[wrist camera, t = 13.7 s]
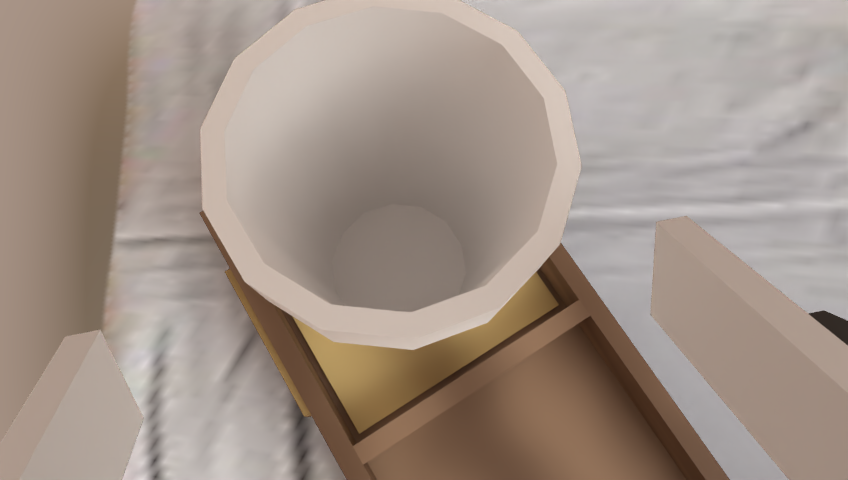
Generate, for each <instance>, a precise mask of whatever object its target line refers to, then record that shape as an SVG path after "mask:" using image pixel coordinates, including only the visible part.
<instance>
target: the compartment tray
mask: <svg viewBox="0 0 848 480" xmlns="http://www.w3.org/2000/svg"><path fill="white" fill-rule="evenodd" d="M200 215H201V217H202V218H203V220H204V222H205V224H206V226H207V228H208V229H209V231H210V233H211V235H212V237H213V238H214V240H215V242H216V244H217V246H218V247H219V249H220V251H221V253H222V255H223V256H224V258H225V260H226V262H227V264H228V265H229V267H230V269H228V270H227V271H225V273H226V275H227V277H228V279H229V280H230V282H231V284H232V286H233V288H234V290H235V291H236V293H237V295H238V297H239V299H240V300H241V302H242V304H243V306H244V308H245V310H246V311H247V313H248V315H249V317H250V319H251V320H252V322H253V324H254V326H255V328H256V330H257V331H258V333H259V335H260V337H261V339H262V340H263V342H264V344H265V346H266V348H267V350H268V351H269V353H270V355H271V357H272V359H273V360H274V362H275V364H276V366H277V368H278V370H279V371H280V373H281V375H282V377H283V379H284V381H285V382H286V384H287V386H288V388H289V390H290V391H291V393H292V395H293V397H294V399H295V401H296V402H297V404H298V406H299V408H300V410H301V411H302V413H303V415H304V417H310V416H312V417H313V419H314V421H315V423H316V425H317V426H318V428H319V430H320V432H321V434H322V435H323V437H324V439H325V441H326V443H327V445H328V446H329V448H330V450H331V452H332V454H333V455H334V457H335V459H336V461H337V463H338V464H339V466H340V468H341V470H342V472H343V473H344V475H345V477H346V479H347V480H730V479H729V478H728V477H727V475H726V474H725V472H724V471H723V469H722V468H721V467H720V465H719V464H718V462H717V461H716V460H715V458H714V457H713V455H712V454H711V453H710V451H709V450H708V448H707V447H706V446H705V444H704V443H703V441H702V440H701V439H700V437H699V436H698V434H697V433H696V432H695V430H694V429H693V427H692V426H691V425H690V423H689V422H688V420H687V419H686V418H685V416H684V415H683V413H682V412H681V411H680V409H679V408H678V406H677V405H676V404H675V402H674V401H673V399H672V398H671V397H670V395H669V394H668V392H667V391H666V390H665V388H664V387H663V385H662V384H661V383H660V381H659V380H658V378H657V377H656V376H655V374H654V373H653V371H652V370H651V368H650V367H649V366H648V364H647V363H646V361H645V360H644V359H643V357H642V356H641V354H640V353H639V352H638V350H637V349H636V347H635V346H634V345H633V343H632V342H631V340H630V339H629V338H628V336H627V335H626V333H625V332H624V331H623V329H622V328H621V326H620V325H619V324H618V322H617V321H616V319H615V318H614V317H613V315H612V314H611V312H610V311H609V310H608V308H607V307H606V305H605V304H604V303H603V301H602V300H601V298H600V297H599V296H598V294H597V293H596V291H595V290H594V289H593V287H592V286H591V284H590V283H589V282H588V280H587V279H586V277H585V276H584V275H583V273H582V272H581V270H580V269H579V268H578V266H577V265H576V263H575V262H574V260H573V259H572V258H571V256H570V255H569V253H568V252H567V251H566V249H565V248H564V246H563V245H562V244H561V243H560V245H559V246H558V247H557V248H556V249H555V251H554V252H553V253H552V254H551V255H550V256H549V258H548V259H547V260H546V261H545V262H544V263H543V264H542V266H541V267H540V268H539V269H538V270H537V271H536V272H535V273H534V274H533V275H532V276H531V277H530V279H529V280H528V281H527V282H526V283H525V284H524V285H523V286H522V287H521V288H520V289H519V290H518V291H517V292H516V293H515V294H514V295H513V297H512V298H511V299H510V300H509V301H508V302H507V303H506V304H505V305H504V306H503V307H502V308H501V309H500V310H499V311H498V312H497V314H496V315H495V316H494V317H493V318H492V319H491V320H490V321H489V322H488V323H486V324H483V325H480V326H477V327H475V328H472V329H469V330H467V331H464V332H461V333H458V334H456V335H453V336H450V337H448V338H445V339H442V340H439V341H437V342H434V343H431V344H429V345H426V346H423V347H420V348H418V349H415V350H408V349H398V348H388V347H378V346H368V345H358V344H348V343H338V342H333V341H331V340H330V339H328V338H326V337H325V336H323V335H322V334H320V333H318V332H317V331H315V330H314V329H312V328H311V327H309V326H307V325H306V324H304V323H303V322H301V321H299V320H298V319H296V318H295V317H293V316H291V315H290V314H288V313H287V312H285V311H283V310H282V309H280V308H279V307H277V306H276V305H274V304H272V303H271V302H269V301H268V300H266V299H265V298H264V297H263V296H261V295H260V294H259V293H258V292H257V291H255V290H254V289H253V288H252V287H250V286H249V285H248V284H247V283H246V282H244V280H243V278H242V276H241V275H240V273H239V271H238V269H237V268H236V266H235V264H234V263H233V261H232V259H231V257H230V256H229V254H228V252H227V251H226V249H225V247H224V245H223V244H222V242H221V240H220V238H219V237H218V235H217V233H216V232H215V230H214V228H213V226H212V225H211V223H210V221H209V219H208V218H207V216H206V214H205V213H204V211H202V212H200Z"/></svg>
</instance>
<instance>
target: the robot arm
mask: <svg viewBox="0 0 848 480" xmlns="http://www.w3.org/2000/svg"><path fill="white" fill-rule="evenodd" d="M650 315H651V316H652V317H653V318H654V319H655V321H656V322H657V323H658V324H659V325H660V326H661V328H662V329H663V330H664V331H665V332H666V334H667V335H668V336H669V337H670V338H671V340H672V341H673V342H674V343H675V344H676V346H677V347H678V348H679V349H680V350H681V351H682V353H683V354H684V355H685V356H686V357H687V359H688V360H689V361H690V362H691V363H692V365H693V366H694V367H695V368H696V369H697V371H698V372H699V373H700V374H701V375H702V376H703V378H704V379H705V380H706V381H707V382H708V384H709V385H710V386H711V387H712V388H713V390H714V391H715V392H716V393H717V394H718V396H719V397H720V398H721V399H722V400H723V401H724V403H725V404H726V405H727V406H728V407H729V409H730V410H731V411H732V412H733V413H734V415H735V416H736V417H737V418H738V419H739V421H740V422H741V423H742V424H743V425H744V426H745V428H746V429H747V430H748V431H749V432H750V434H751V435H752V436H753V437H754V438H755V440H756V441H757V442H758V443H759V444H760V446H761V447H762V448H763V449H764V450H765V451H766V453H767V454H768V455H769V456H770V457H771V459H772V460H773V461H774V462H775V463H776V465H777V466H778V467H779V468H780V469H781V471H782V472H783V473H784V474H785V475H786V476H787V478H788V479H789V480H848V321H847V320H844V319H842V318H840V317H838V316H835V315H833V314H831V313H828V312H826V311H819V312H814V313H809V314H808V313H807V312H805V311H804V310H803V309H802V308H800V307H799V306H798V305H797V304H795V303H794V302H793V301H792V300H790V299H789V298H788V297H787V296H785V295H784V294H783V293H782V292H780V291H779V290H778V289H777V288H775V287H774V286H773V285H772V284H770V283H769V282H768V281H767V280H765V279H764V278H763V277H762V276H761V275H759V274H758V273H757V272H756V271H754V270H753V269H752V268H751V267H749V266H748V265H747V264H746V263H744V262H743V261H742V260H741V259H739V258H738V257H737V256H736V255H734V254H733V253H732V252H731V251H729V250H728V249H727V248H726V247H724V246H723V245H722V244H721V243H719V242H718V241H717V240H716V239H714V238H713V237H712V236H711V235H710V234H708V233H707V232H706V231H705V230H703V229H702V228H701V227H700V226H698V225H697V224H696V223H695V222H693V221H692V220H691V219H690V218H688V217H687V216H684V217H679V218H674V219H669V220H663V221H658V222H656V234H655V250H654V266H653V282H652V298H651V314H650ZM143 419H144V418H143V416H142V414H141V412H140V410H139V408H138V406H137V404H136V401H135V399H134V397H133V395H132V393H131V391H130V389H129V387H128V385H127V383H126V381H125V379H124V377H123V375H122V373H121V371H120V369H119V367H118V365H117V363H116V361H115V359H114V357H113V355H112V353H111V351H110V349H109V347H108V344H107V342H106V340H105V338H104V336H103V334H102V332H101V330H96V331H91V332H86V333H81V334H75V335H70V336H66V337H65V338H64V340H63V341H62V343H61V344H60V346H59V348H58V349H57V351H56V353H55V354H54V356H53V358H52V359H51V361H50V362H49V364H48V366H47V367H46V369H45V370H44V372H43V374H42V375H41V377H40V379H39V380H38V382H37V383H36V385H35V387H34V388H33V390H32V392H31V393H30V395H29V397H28V398H27V400H26V402H25V403H24V405H23V406H22V408H21V409H20V411H19V413H18V414H17V416H16V418H15V419H14V421H13V423H12V424H11V426H10V427H9V429H8V431H7V432H6V434H5V436H4V437H3V439H2V440H1V442H0V480H122V478H123V475H124V473H125V470H126V467H127V464H128V461H129V459H130V456H131V453H132V450H133V447H134V444H135V442H136V439H137V436H138V433H139V430H140V428H141V425H142V422H143Z"/></svg>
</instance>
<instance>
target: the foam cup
mask: <svg viewBox="0 0 848 480" xmlns="http://www.w3.org/2000/svg"><path fill="white" fill-rule="evenodd" d="M200 144H201V181H202V209H203V211H204V213H205V214H206V216H207V218H208V219H209V221H210V223H211V225H212V226H213V228H214V230H215V232H216V233H217V235H218V237H219V238H220V240H221V242H222V244H223V245H224V247H225V249H226V251H227V252H228V254H229V256H230V257H231V259H232V261H233V263H234V264H235V266H236V268H237V269H238V271H239V273H240V275H241V276H242V278H243V280H244V282H246V283H247V284H248V285H249V286H250V287H252V288H253V289H254V290H255V291H257V292H258V293H259V294H260V295H261V296H263V297H264V298H265V299H266V300H268V301H269V302H271V303H272V304H274V305H276V306H277V307H279V308H280V309H282V310H283V311H285V312H287V313H288V314H290V315H291V316H293V317H295V318H296V319H298V320H299V321H301V322H303V323H304V324H306V325H307V326H309V327H311V328H312V329H314V330H315V331H317V332H318V333H320V334H322V335H323V336H325V337H326V338H328V339H330V340H331V341H333V342H338V343H348V344H358V345H368V346H378V347H388V348H398V349H408V350H415V349H418V348H420V347H423V346H426V345H429V344H431V343H434V342H437V341H439V340H442V339H445V338H448V337H450V336H453V335H456V334H458V333H461V332H464V331H467V330H469V329H472V328H475V327H477V326H480V325H483V324H486V323H488V322H489V321H490V320H491V319H492V318H493V317H494V316H495V315H496V314H497V312H498V311H499V310H500V309H501V308H502V307H503V306H504V305H505V304H506V303H507V302H508V301H509V300H510V299H511V298H512V297H513V295H514V294H515V293H516V292H517V291H518V290H519V289H520V288H521V287H522V286H523V285H524V284H525V283H526V282H527V281H528V280H529V279H530V277H531V276H532V275H533V274H534V273H535V272H536V271H537V270H538V269H539V268H540V267H541V266H542V264H543V263H544V262H545V261H546V260H547V259H548V258H549V256H550V255H551V254H552V253H553V252H554V251H555V249H556V248H557V247H558V246H559V245H560V243H561V239H562V235H563V232H564V228H565V225H566V221H567V218H568V214H569V210H570V207H571V203H572V200H573V196H574V192H575V189H576V185H577V182H578V178H579V174H580V171H581V167H582V165H581V161H580V156H579V151H578V147H577V142H576V138H575V133H574V129H573V124H572V119H571V115H570V110H569V106H568V101H567V96H566V92H565V90H564V89H563V87H562V86H561V85H560V84H559V82H558V81H557V80H556V79H555V77H554V76H553V75H552V73H551V72H550V71H549V70H548V68H547V67H546V66H545V65H544V63H543V62H542V61H541V60H540V58H539V57H538V56H537V55H536V53H535V52H534V51H533V50H532V48H531V47H530V46H529V45H528V43H527V42H526V41H525V40H524V38H523V37H522V36H521V34H520V33H519V32H518V31H517V30H515V29H513V28H511V27H509V26H507V25H506V24H504V23H502V22H500V21H498V20H496V19H494V18H492V17H490V16H488V15H486V14H485V13H483V12H481V11H479V10H477V9H475V8H473V7H471V6H469V5H467V4H465V3H464V2H462V1H460V0H325V1H322V2H318V3H315V4H311V5H308V6H305V7H301V8H298V9H295V10H294V11H292V12H291V13H290V14H289V15H287V16H286V17H285V18H284V19H283V20H281V21H280V22H279V23H278V24H276V25H275V26H274V27H273V28H271V29H270V30H269V31H268V32H266V33H265V34H264V35H263V36H262V37H260V38H259V39H258V40H257V41H255V42H254V43H253V44H252V45H250V46H249V47H248V48H247V49H245V50H244V51H243V52H242V53H240V54H239V55H238V56H237V57H236V58H234V60H233V62H232V64H231V66H230V68H229V71H228V73H227V75H226V77H225V79H224V81H223V83H222V85H221V87H220V89H219V91H218V93H217V95H216V97H215V99H214V101H213V103H212V105H211V107H210V109H209V112H208V114H207V116H206V118H205V120H204V122H203V124H202V126H201V128H200Z"/></svg>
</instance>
